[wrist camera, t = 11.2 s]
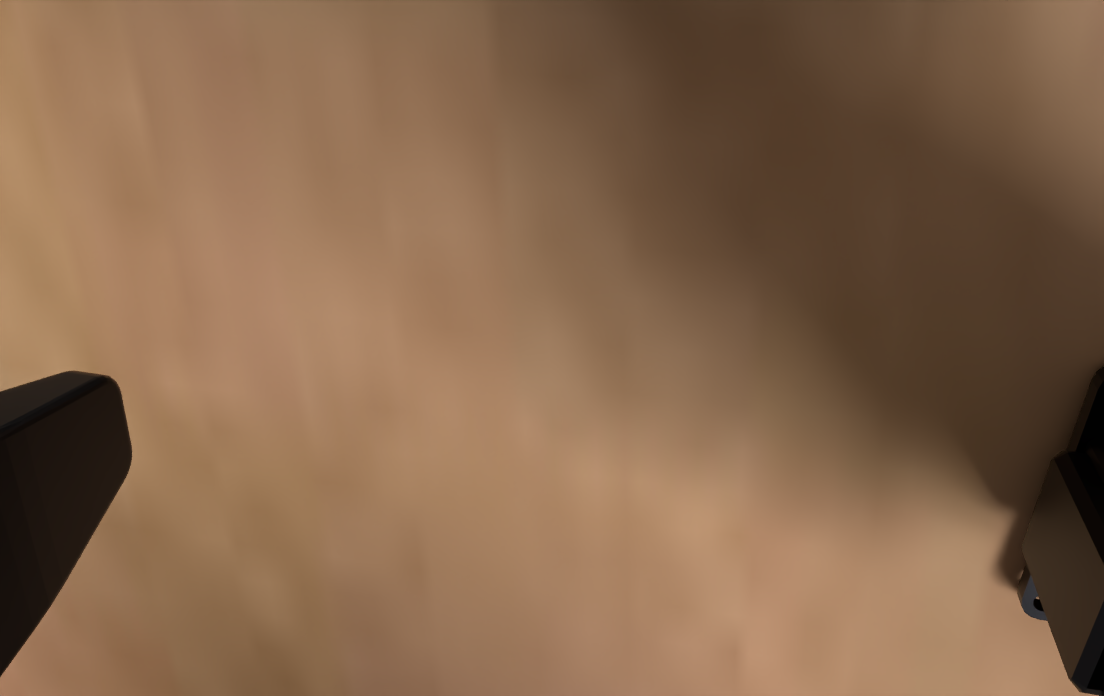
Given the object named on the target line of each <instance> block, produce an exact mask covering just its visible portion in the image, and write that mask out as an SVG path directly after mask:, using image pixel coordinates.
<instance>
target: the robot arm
mask: <svg viewBox="0 0 1104 696" xmlns="http://www.w3.org/2000/svg"><path fill="white" fill-rule="evenodd" d="M131 460H132V446H131V441H130V436H129V431H128V425H127V420H126V415H125V410H124V405H123V400H122V395H121V391H120V387H119V386H118V384H117V382H116V381H115V380H114V379H112V378H111V377H110V376H107V375H101V374H94V373H87V372H80V371H66V372H62V373H59V374H56V375H53V376H49V377H46V378H43V379H40V380H36V381H33V382H30V383H27V384H23V385H20V386H17V387H14V388H10V389H7V390H4V391H1V392H0V677H1V675H2V674H3V673H4V671H5V670H6V668H7V667H8V666H9V664H10V663H11V661H12V660H13V659H14V657H15V656H16V655H17V653H18V652H19V650H20V649H21V648H22V646H23V645H24V644H25V642H26V641H27V639H28V638H29V637H30V635H31V634H32V632H33V631H34V630H35V628H36V627H37V625H38V624H39V622H40V621H41V620H42V618H43V617H44V615H45V614H46V612H47V611H48V609H49V608H50V606H51V605H52V603H53V601H54V600H55V598H56V597H57V595H58V593H59V592H60V590H61V589H62V587H63V585H64V584H65V582H66V580H67V579H68V577H69V575H70V573H71V572H72V570H73V568H74V566H75V565H76V563H77V561H78V559H79V558H80V556H81V554H82V553H83V551H84V549H85V547H86V546H87V544H88V542H89V540H90V539H91V537H92V535H93V534H94V532H95V530H96V528H97V527H98V525H99V523H100V521H101V520H102V518H103V516H104V515H105V513H106V511H107V509H108V508H109V506H110V504H111V502H112V501H113V499H114V497H115V495H116V494H117V492H118V490H119V489H120V487H121V485H122V483H123V482H124V480H125V478H126V476H127V474H128V471H129V469H130V465H131ZM1022 552H1023V555H1024V558H1025V561H1026V566H1025V569H1024V572H1023V574H1022V577H1021V580H1020V583H1019V586H1018V593H1017V594H1018V597H1019V600H1020V603H1021V606H1022V608H1023V610H1024V612H1025V613H1026V614H1028V615H1029V616H1030V617H1033V618H1036V619H1040V620H1046V621H1048V623H1049V626H1050V629H1051V632H1052V634H1053V637H1054V640H1055V642H1056V645H1057V648H1058V651H1059V653H1060V656H1061V659H1062V662H1063V664H1064V667H1065V670H1066V672H1067V675H1068V678H1069V679H1070V681H1071V682H1072V683H1073V684H1074V686H1075V687H1076V688H1077V689H1078V691H1079V692H1082V693H1088V694H1094V695H1099V696H1104V367H1102V368H1101V369H1100V370H1099V371H1097V372H1096V374H1095V375H1094V377H1093V379H1092V381H1091V383H1090V386H1089V389H1088V392H1087V395H1086V397H1085V400H1084V403H1083V406H1082V409H1081V412H1080V414H1079V417H1078V420H1077V423H1076V426H1075V428H1074V431H1073V434H1072V437H1071V440H1070V442H1069V445H1068V448H1067V450H1064V451H1062V452H1061V453H1059V454H1058V455H1057V456H1055V457H1054V458H1053V459H1052V460H1051V463H1050V466H1049V469H1048V472H1047V475H1046V478H1045V480H1044V483H1043V486H1042V489H1041V492H1040V495H1039V498H1038V500H1037V503H1036V506H1035V509H1034V512H1033V515H1032V518H1031V520H1030V523H1029V526H1028V529H1027V532H1026V535H1025V538H1024V541H1023V543H1022ZM1037 596H1039V599H1036V597H1037Z"/></svg>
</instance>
